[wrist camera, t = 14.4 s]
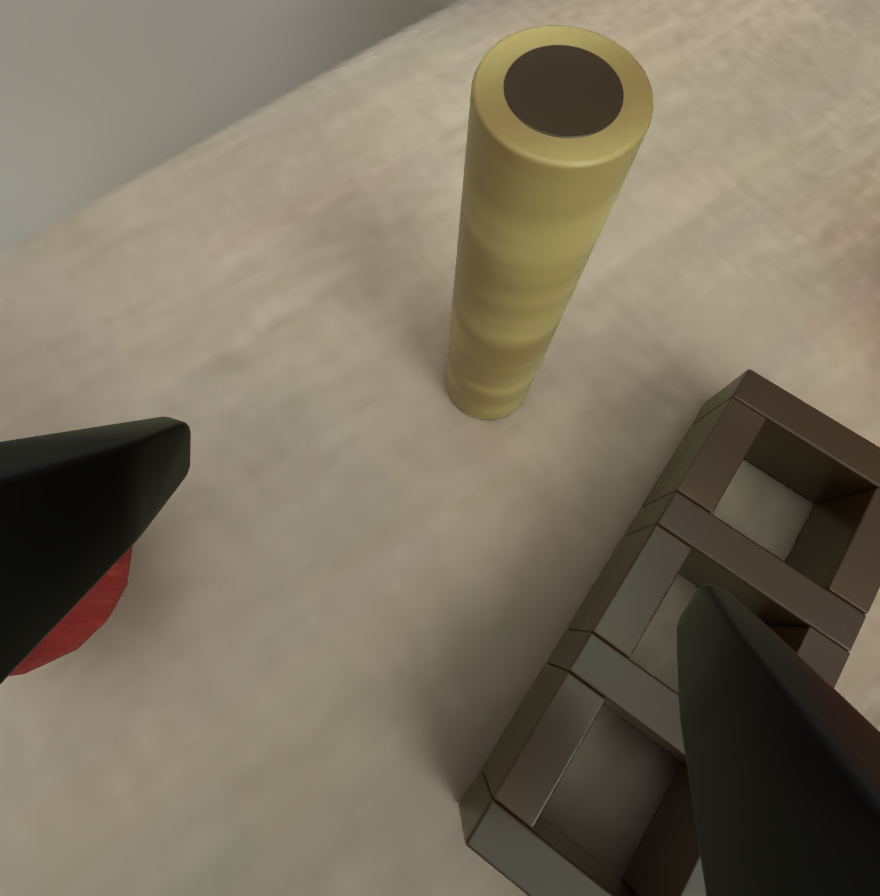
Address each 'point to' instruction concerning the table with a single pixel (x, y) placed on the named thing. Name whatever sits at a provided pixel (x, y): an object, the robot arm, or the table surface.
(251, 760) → the table surface
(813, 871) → the robot arm
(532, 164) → the tan hollow tube
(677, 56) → the table surface
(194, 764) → the table surface
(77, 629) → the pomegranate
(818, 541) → the rack
